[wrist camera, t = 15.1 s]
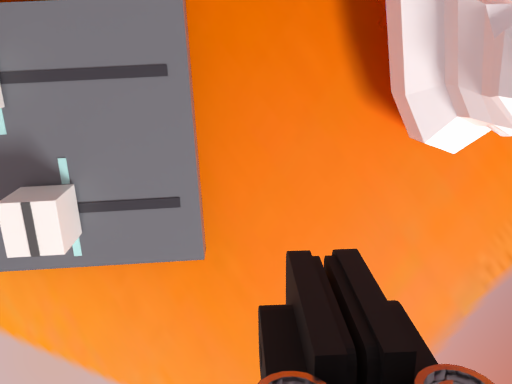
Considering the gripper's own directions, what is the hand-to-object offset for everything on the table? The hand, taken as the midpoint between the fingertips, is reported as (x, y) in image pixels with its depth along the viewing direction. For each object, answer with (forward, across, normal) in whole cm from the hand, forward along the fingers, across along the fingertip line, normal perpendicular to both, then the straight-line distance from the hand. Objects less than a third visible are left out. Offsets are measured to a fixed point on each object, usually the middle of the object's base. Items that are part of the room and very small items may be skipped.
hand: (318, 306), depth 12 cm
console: (+28, +14, +1) cm, 31 cm away
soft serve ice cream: (+28, -15, -4) cm, 32 cm away
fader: (+25, +16, +6) cm, 31 cm away
